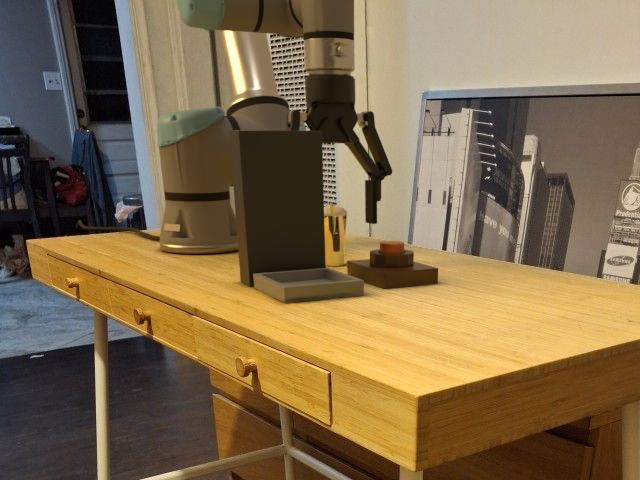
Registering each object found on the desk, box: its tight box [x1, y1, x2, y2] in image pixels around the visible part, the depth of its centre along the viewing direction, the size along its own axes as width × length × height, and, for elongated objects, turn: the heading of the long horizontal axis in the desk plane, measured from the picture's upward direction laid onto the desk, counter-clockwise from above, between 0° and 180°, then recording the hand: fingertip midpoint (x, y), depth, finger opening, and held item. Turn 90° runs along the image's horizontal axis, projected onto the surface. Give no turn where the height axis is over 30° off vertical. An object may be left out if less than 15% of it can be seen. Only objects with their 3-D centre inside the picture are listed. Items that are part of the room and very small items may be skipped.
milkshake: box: [324, 201, 348, 267], centre depth 123 cm, size 4×5×10 cm
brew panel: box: [346, 248, 439, 290], centre depth 113 cm, size 12×9×4 cm
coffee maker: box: [229, 130, 365, 304], centre depth 103 cm, size 17×12×20 cm
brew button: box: [379, 240, 405, 254], centre depth 112 cm, size 4×4×2 cm
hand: (334, 225), depth 122 cm, fingers open, 13 cm apart
